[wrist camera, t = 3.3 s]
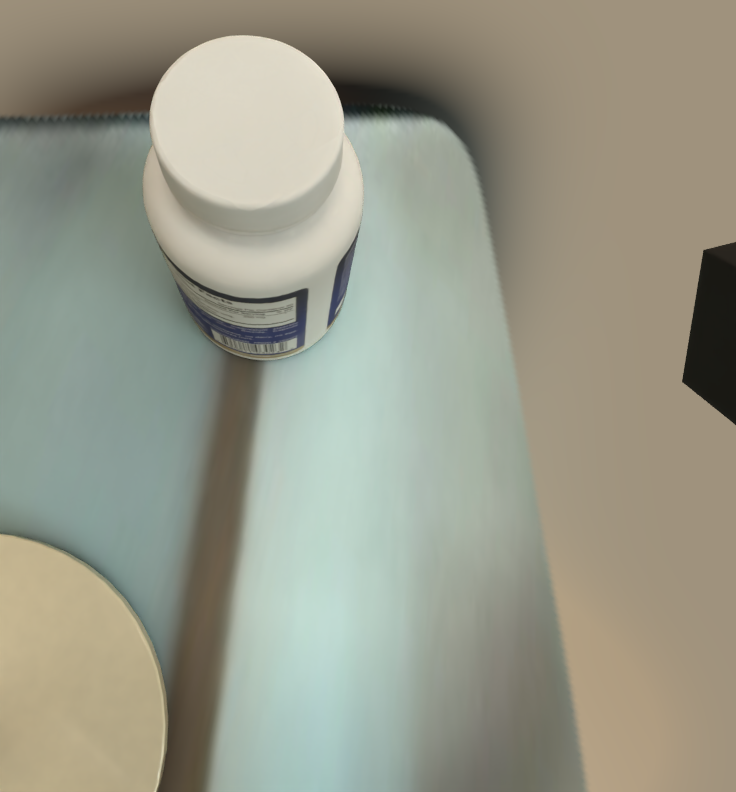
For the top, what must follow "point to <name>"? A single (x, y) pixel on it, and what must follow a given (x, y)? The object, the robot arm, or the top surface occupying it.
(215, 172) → the pill bottle
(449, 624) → the top surface
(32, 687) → the lid
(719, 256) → the robot arm
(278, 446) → the top surface
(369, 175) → the top surface
